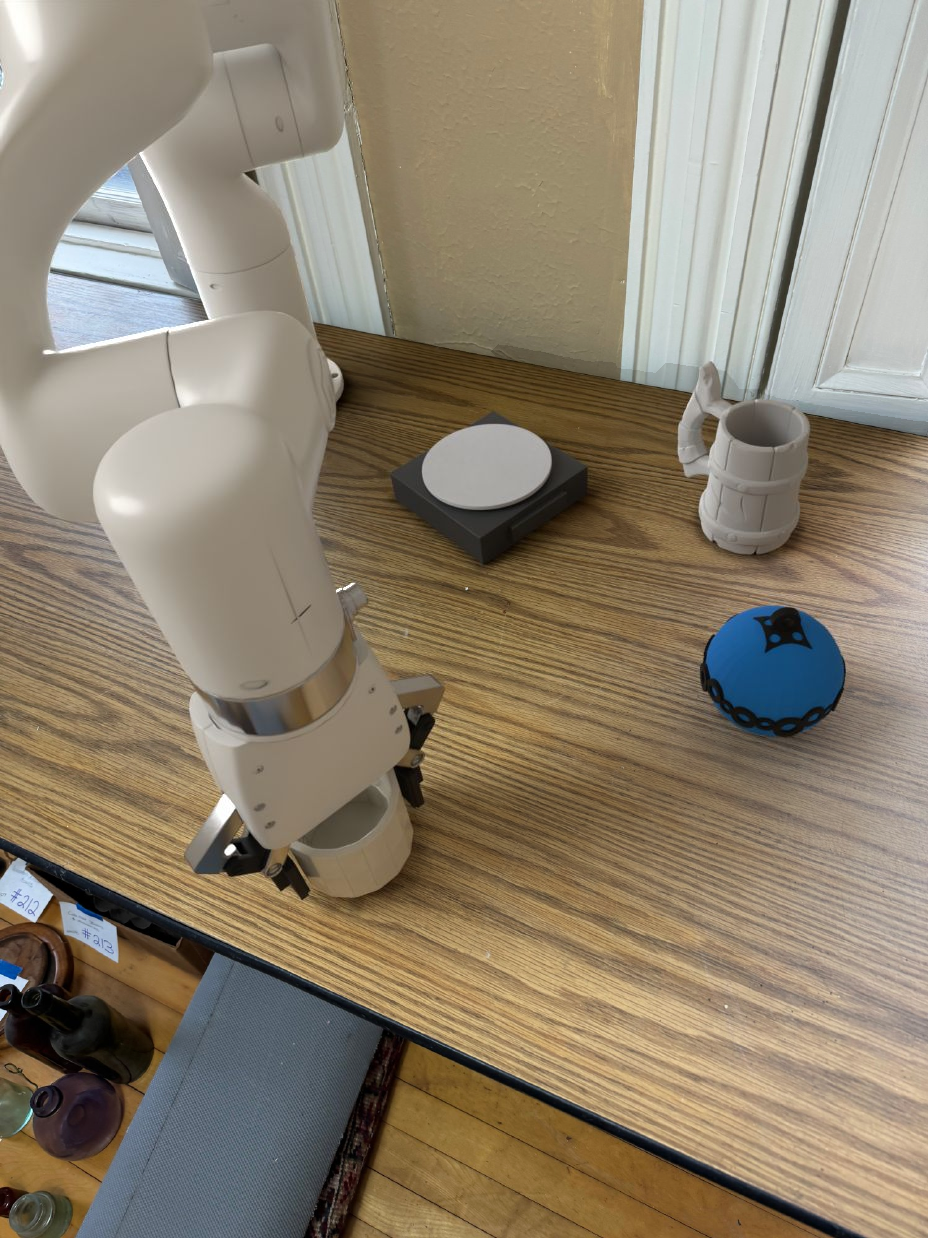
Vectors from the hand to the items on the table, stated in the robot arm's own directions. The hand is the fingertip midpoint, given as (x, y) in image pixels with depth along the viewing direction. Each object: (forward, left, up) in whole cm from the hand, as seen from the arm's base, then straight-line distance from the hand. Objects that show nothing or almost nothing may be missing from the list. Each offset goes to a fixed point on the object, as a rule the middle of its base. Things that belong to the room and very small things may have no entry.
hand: (351, 834), depth 53 cm
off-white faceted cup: (0, 0, -1) cm, 1 cm away
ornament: (+11, +26, -2) cm, 28 cm away
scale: (-19, +28, -1) cm, 34 cm away
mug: (-3, +40, -2) cm, 40 cm away
